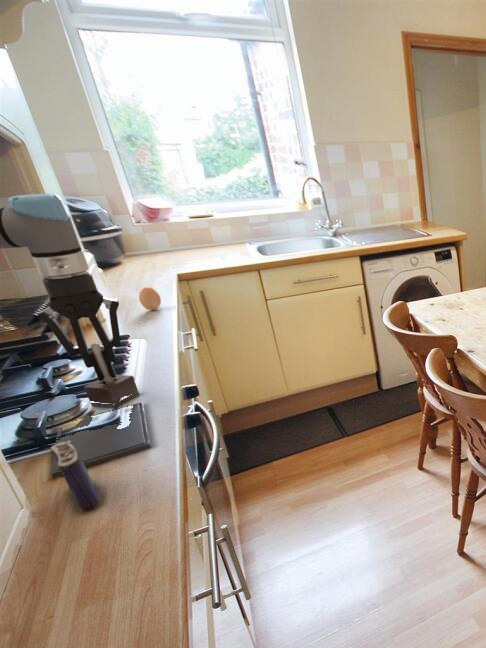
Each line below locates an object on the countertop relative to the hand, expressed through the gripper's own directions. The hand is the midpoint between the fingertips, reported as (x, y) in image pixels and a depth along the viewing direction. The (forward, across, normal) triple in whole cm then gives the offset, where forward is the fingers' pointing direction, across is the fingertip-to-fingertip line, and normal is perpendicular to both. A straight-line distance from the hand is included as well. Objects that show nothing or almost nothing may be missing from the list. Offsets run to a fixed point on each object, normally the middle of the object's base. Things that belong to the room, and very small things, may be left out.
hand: (107, 377), depth 103 cm
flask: (+6, -5, -36) cm, 37 cm away
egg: (+6, +12, +71) cm, 72 cm away
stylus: (+6, 0, +1) cm, 6 cm away
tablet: (+6, -2, -17) cm, 18 cm away
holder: (+6, 0, 0) cm, 6 cm away
